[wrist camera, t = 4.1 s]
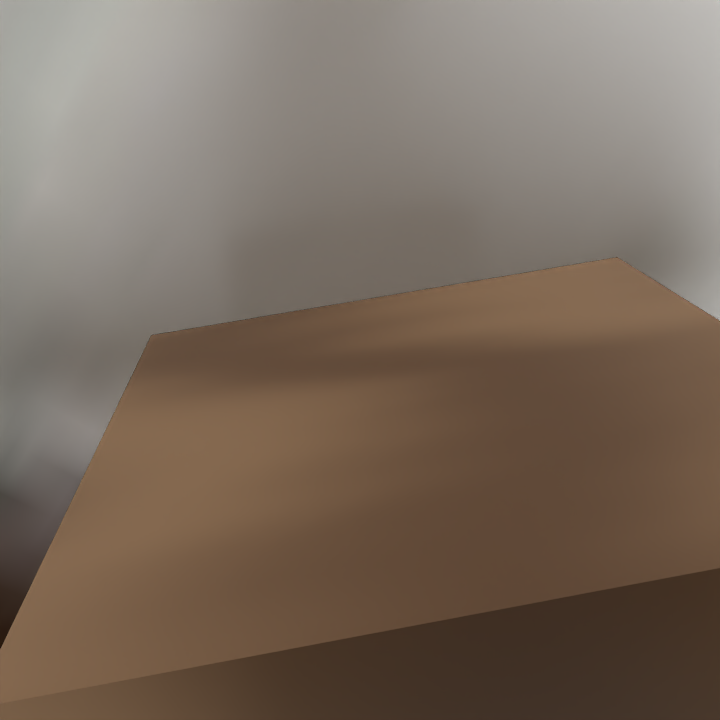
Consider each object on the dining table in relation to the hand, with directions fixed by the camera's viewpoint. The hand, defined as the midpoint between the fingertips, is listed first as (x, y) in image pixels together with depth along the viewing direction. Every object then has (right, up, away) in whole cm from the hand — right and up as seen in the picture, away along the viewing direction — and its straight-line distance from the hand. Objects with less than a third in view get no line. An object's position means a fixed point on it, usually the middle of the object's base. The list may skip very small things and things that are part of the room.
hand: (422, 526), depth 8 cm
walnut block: (0, +1, +1) cm, 1 cm away
